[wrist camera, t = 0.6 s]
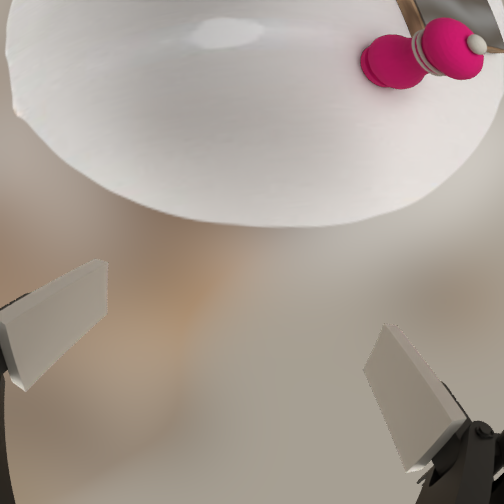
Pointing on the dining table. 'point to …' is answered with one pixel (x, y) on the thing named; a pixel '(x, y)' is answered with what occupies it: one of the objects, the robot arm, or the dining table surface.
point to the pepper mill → (424, 55)
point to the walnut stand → (455, 17)
